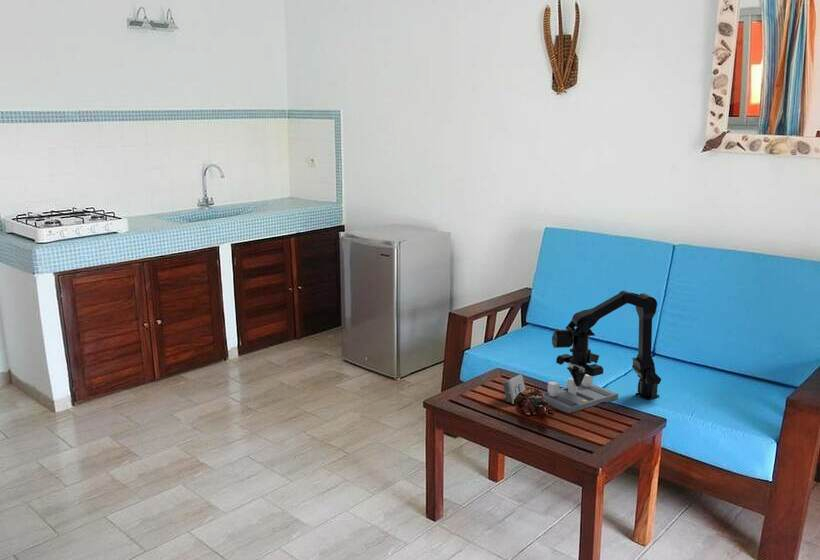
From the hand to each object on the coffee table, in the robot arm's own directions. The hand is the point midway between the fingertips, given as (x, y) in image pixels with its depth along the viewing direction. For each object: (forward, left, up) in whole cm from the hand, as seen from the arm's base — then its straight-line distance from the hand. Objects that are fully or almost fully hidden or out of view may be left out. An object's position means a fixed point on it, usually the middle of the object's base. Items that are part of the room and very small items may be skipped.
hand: (578, 386), depth 268 cm
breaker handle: (+3, 0, -5) cm, 6 cm away
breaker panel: (0, 0, -5) cm, 5 cm away
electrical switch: (+12, +21, -5) cm, 25 cm away
